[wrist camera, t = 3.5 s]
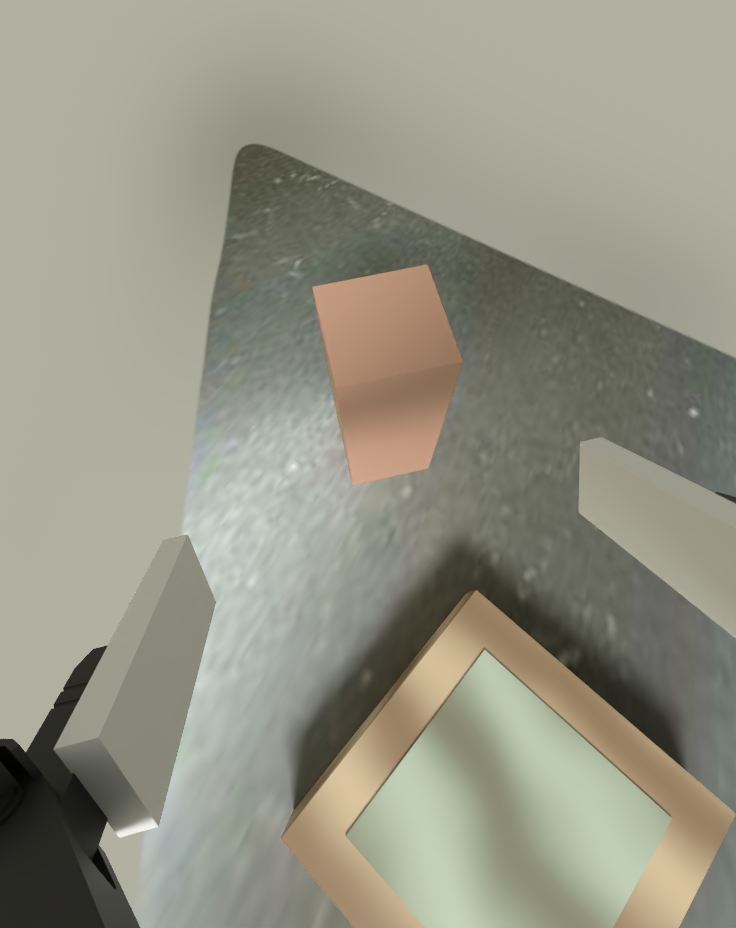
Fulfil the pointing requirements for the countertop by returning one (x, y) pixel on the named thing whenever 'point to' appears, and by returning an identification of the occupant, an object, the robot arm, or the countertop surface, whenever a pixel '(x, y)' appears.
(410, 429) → the tall block
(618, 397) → the countertop surface
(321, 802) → the oak picture frame
